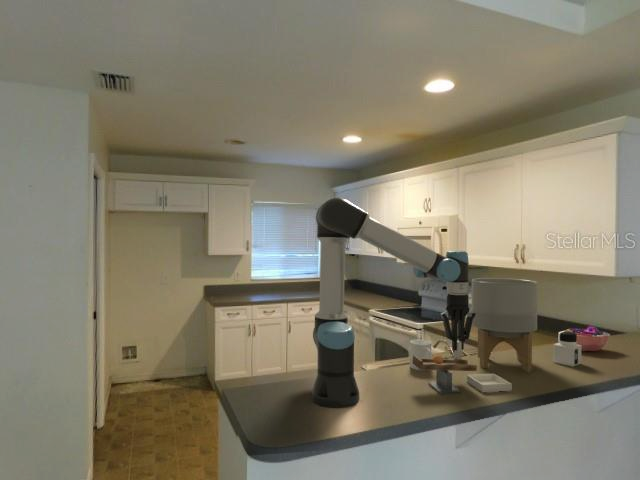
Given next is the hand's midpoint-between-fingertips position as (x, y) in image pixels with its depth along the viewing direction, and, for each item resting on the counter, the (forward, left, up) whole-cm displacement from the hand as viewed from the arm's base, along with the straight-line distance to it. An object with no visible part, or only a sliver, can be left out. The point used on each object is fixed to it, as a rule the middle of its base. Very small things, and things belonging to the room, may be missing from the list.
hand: (457, 358), depth 152 cm
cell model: (+80, +33, -8) cm, 87 cm away
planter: (+29, +18, -8) cm, 35 cm away
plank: (-8, -4, -1) cm, 9 cm away
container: (+56, +15, -8) cm, 59 cm away
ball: (-11, -7, +2) cm, 13 cm away
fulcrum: (-8, -7, -8) cm, 14 cm away
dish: (+8, -7, -8) cm, 13 cm away
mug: (-7, +15, -8) cm, 19 cm away
